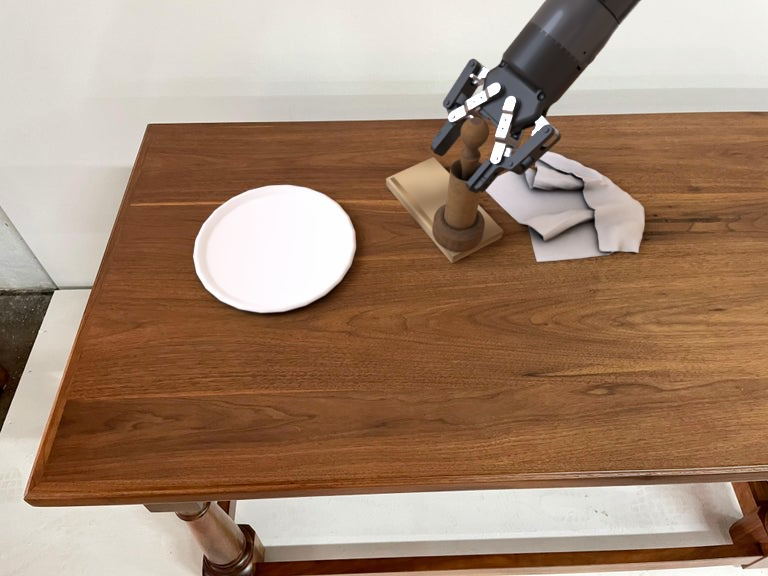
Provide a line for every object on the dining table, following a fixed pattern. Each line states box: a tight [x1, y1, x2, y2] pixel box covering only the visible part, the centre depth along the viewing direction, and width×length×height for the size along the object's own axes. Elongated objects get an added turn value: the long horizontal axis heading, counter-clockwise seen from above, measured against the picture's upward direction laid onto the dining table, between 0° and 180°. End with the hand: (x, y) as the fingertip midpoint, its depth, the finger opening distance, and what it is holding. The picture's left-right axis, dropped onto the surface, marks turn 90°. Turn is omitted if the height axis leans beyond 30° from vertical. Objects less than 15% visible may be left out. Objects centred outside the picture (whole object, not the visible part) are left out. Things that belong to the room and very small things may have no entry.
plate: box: [192, 184, 357, 314], centre depth 78 cm, size 21×21×1 cm
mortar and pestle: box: [432, 117, 490, 252], centre depth 70 cm, size 7×6×18 cm
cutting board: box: [385, 156, 504, 264], centre depth 81 cm, size 16×8×2 cm, turn 32°
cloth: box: [484, 150, 646, 263], centre depth 81 cm, size 20×22×2 cm
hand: (453, 170), depth 67 cm, fingers open, 6 cm apart
